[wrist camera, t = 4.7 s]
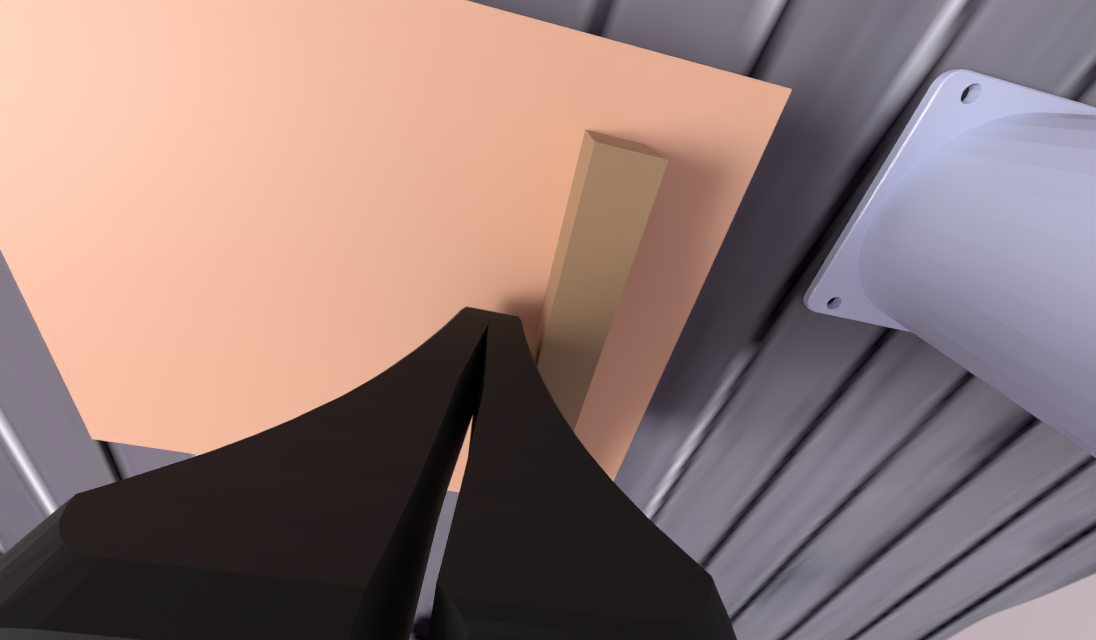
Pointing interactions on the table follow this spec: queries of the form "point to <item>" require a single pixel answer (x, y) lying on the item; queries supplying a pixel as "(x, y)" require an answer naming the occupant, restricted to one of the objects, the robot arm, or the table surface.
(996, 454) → the table surface
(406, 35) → the sliding lid
